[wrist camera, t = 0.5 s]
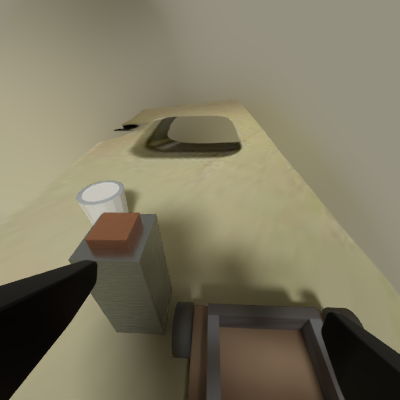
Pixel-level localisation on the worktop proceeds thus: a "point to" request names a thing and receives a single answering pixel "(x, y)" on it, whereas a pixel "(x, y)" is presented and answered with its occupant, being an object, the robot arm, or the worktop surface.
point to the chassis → (255, 352)
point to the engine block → (128, 271)
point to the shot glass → (102, 199)
